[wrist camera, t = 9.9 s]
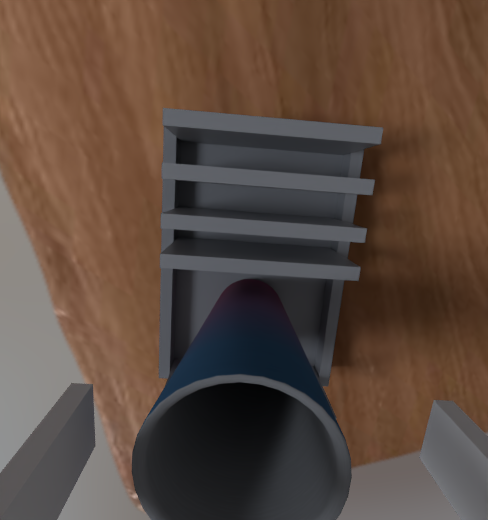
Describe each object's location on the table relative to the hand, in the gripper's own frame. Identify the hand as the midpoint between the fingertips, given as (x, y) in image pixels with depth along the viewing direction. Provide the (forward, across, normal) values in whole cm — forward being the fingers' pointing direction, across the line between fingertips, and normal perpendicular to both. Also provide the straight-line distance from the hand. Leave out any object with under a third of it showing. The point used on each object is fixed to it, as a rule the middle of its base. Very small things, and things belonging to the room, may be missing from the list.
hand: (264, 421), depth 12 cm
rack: (+14, 0, +3) cm, 14 cm away
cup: (+13, 0, -1) cm, 13 cm away
